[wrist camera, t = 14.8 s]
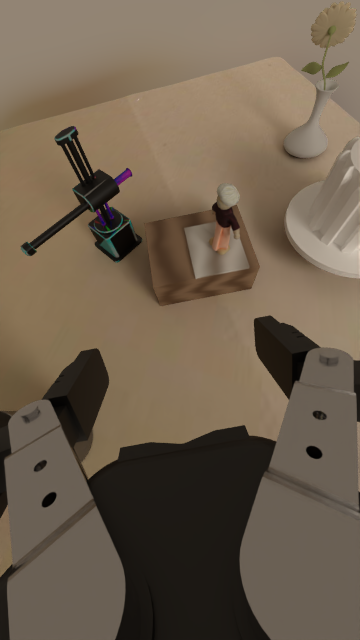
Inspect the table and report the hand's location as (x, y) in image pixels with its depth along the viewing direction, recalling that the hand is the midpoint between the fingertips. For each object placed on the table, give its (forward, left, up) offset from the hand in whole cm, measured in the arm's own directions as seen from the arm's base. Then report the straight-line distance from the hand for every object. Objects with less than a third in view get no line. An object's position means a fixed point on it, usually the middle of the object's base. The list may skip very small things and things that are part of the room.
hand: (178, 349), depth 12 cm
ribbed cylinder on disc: (+37, +27, -33) cm, 56 cm away
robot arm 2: (-16, +37, -33) cm, 52 cm away
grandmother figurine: (+10, +25, -24) cm, 36 cm away
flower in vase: (+42, +61, -33) cm, 81 cm away
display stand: (+6, +28, -33) cm, 43 cm away
